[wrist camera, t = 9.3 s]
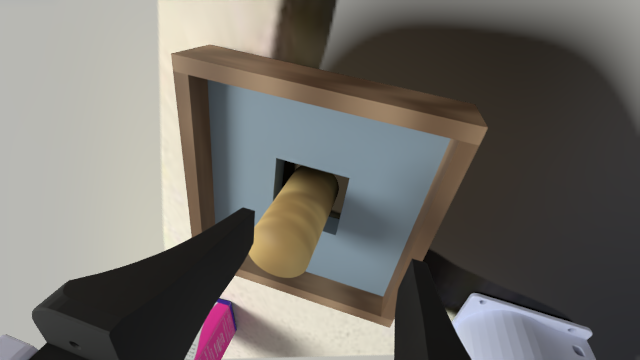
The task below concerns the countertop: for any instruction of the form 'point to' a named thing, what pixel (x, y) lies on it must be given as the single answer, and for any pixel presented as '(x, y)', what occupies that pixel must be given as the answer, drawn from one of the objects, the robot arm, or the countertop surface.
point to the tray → (340, 96)
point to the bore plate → (331, 156)
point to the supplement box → (214, 333)
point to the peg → (294, 223)
